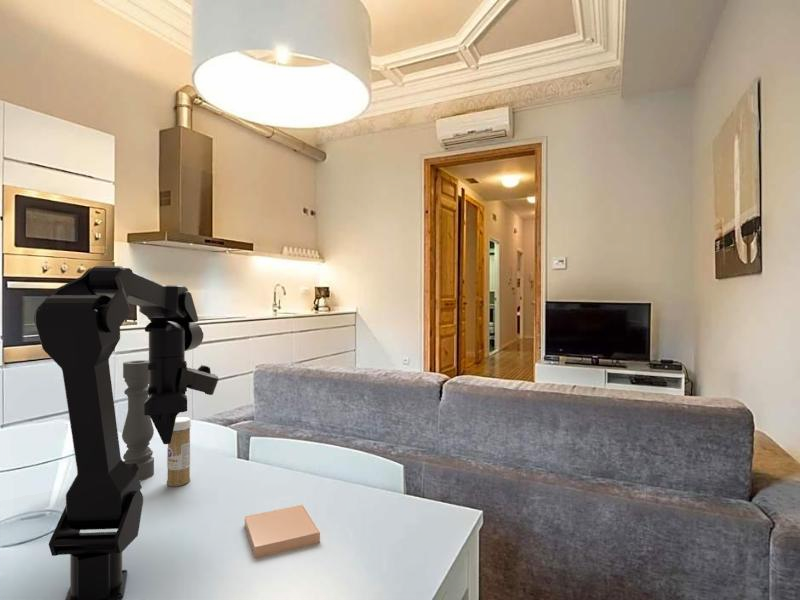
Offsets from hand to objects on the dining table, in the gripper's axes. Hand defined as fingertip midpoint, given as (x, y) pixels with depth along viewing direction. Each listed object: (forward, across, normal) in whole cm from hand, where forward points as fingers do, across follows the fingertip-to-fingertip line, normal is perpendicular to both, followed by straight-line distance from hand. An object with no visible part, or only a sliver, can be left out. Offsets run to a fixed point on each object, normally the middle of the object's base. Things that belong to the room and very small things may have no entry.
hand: (167, 443), depth 82 cm
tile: (+12, -15, -17) cm, 26 cm away
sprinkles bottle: (+13, +16, -2) cm, 21 cm away
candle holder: (+13, +24, +6) cm, 28 cm away
